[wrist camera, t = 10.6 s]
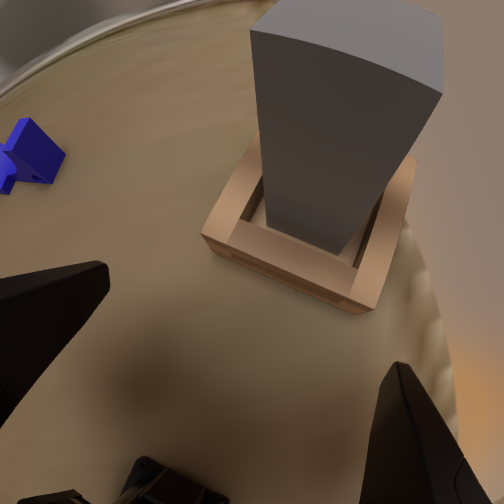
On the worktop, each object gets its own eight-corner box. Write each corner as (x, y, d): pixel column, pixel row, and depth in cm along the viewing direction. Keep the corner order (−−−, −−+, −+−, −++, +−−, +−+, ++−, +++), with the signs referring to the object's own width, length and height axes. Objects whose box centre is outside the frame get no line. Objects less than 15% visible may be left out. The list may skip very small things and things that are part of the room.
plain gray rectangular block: (337, 256, 17) (442, 93, 5) (266, 226, 18) (249, 29, 6) (360, 192, 18) (441, 17, 6) (294, 166, 19) (308, -26, 7)
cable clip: (-16, 191, 23) (-51, 167, 17) (0, 155, 24) (-31, 128, 18) (46, 201, 22) (2, 168, 16) (66, 155, 23) (29, 117, 17)
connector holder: (356, 315, 17) (374, 309, 14) (212, 251, 19) (199, 232, 16) (399, 185, 19) (417, 159, 16) (275, 135, 21) (274, 103, 18)
